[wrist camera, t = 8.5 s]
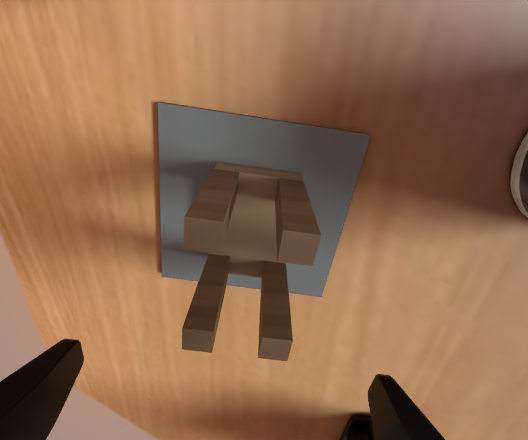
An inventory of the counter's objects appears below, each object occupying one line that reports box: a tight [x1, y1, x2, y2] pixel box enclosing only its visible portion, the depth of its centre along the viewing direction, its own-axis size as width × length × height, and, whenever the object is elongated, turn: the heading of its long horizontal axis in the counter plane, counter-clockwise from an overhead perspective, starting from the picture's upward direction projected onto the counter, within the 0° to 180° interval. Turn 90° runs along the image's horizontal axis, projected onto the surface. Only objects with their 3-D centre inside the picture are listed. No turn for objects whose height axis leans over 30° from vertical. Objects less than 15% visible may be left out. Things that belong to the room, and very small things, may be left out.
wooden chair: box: [182, 162, 321, 361], centre depth 15 cm, size 7×5×8 cm
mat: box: [158, 102, 371, 297], centre depth 18 cm, size 12×12×1 cm
